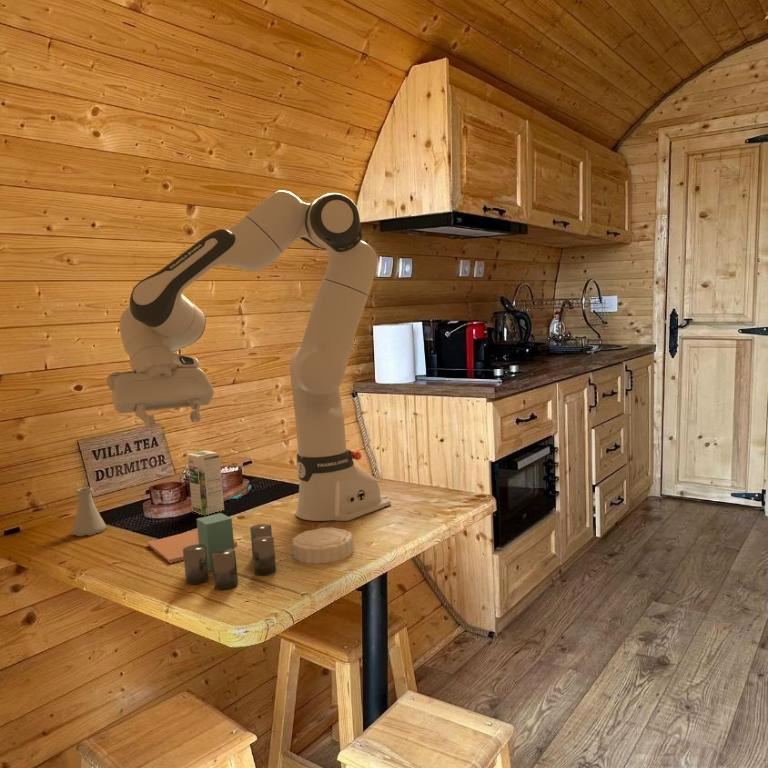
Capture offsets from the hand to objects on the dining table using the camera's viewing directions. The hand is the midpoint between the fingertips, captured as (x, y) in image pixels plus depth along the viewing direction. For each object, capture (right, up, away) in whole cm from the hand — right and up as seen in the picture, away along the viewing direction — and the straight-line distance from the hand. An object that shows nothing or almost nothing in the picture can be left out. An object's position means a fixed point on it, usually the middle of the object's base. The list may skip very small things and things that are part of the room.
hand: (174, 423), depth 142 cm
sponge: (+4, -21, +43) cm, 48 cm away
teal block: (+11, -27, -7) cm, 30 cm away
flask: (-25, -26, +18) cm, 40 cm away
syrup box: (0, -23, +28) cm, 36 cm away
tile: (+3, -26, +4) cm, 26 cm away
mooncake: (+31, -25, -4) cm, 40 cm away
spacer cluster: (+16, -27, -13) cm, 33 cm away
